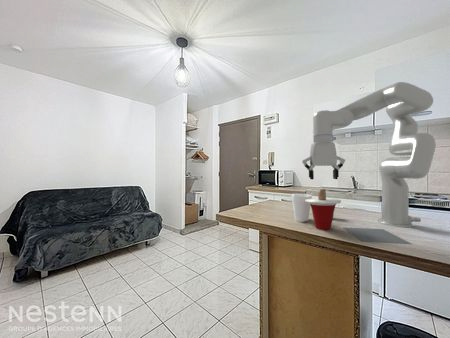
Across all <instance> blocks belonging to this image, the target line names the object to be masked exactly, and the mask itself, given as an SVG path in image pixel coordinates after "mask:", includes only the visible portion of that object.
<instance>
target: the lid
mask: <svg viewBox="0 0 450 338" xmlns="http://www.w3.org/2000/svg"><path fill="white" fill-rule="evenodd" d="M326 190H327V189H318V190H317V195H318V196H317V198H312V199H306V200H305V202H307V203H315V204H336V205H337V204H341V203H342V201H341V199H335V198H327V194H326V193H327V192H326Z"/></svg>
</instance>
